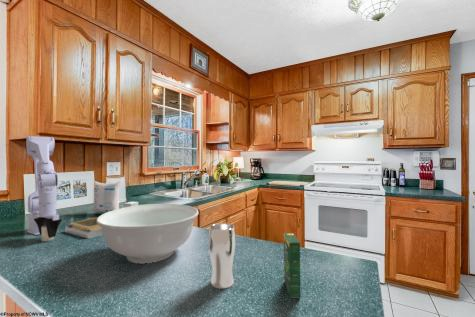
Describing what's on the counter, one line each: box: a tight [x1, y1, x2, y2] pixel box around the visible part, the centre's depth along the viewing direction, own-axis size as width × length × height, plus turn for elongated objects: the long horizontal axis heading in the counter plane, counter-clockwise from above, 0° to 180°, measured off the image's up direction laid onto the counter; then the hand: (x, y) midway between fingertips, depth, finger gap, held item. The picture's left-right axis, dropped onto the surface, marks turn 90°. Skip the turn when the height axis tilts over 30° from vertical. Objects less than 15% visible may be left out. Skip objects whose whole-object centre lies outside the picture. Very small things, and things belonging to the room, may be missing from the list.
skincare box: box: [122, 201, 139, 208], centre depth 116 cm, size 6×4×12 cm
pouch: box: [92, 180, 121, 214], centre depth 142 cm, size 8×19×20 cm, turn 69°
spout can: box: [41, 225, 55, 242], centre depth 99 cm, size 4×4×7 cm
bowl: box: [96, 203, 199, 265], centre depth 83 cm, size 32×32×15 cm
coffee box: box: [283, 232, 301, 299], centre depth 60 cm, size 8×3×13 cm, turn 178°
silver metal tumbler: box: [208, 222, 236, 290], centre depth 63 cm, size 7×7×15 cm
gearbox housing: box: [64, 216, 103, 239], centre depth 110 cm, size 18×15×4 cm
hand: (47, 235), depth 99 cm, fingers open, 7 cm apart
